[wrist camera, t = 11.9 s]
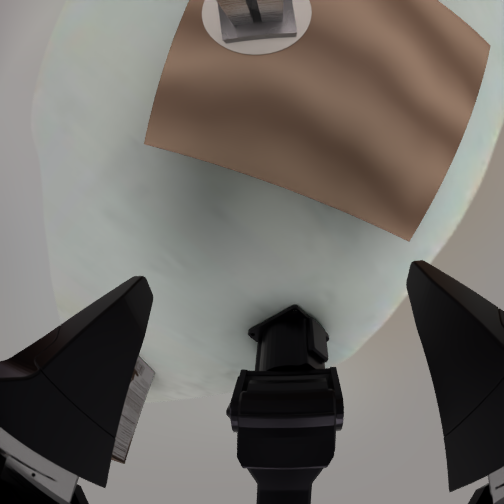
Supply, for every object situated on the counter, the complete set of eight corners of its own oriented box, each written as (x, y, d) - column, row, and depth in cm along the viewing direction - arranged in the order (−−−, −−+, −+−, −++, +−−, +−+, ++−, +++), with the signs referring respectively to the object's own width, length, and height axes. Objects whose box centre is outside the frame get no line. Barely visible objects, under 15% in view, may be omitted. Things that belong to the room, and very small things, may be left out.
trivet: (252, 75, 15) (252, 74, 14) (182, 15, 12) (180, 13, 12) (333, 18, 12) (334, 16, 11) (259, -41, 9) (259, -43, 9)
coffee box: (117, 373, 39) (85, 450, 25) (94, 349, 36) (53, 430, 22) (156, 373, 36) (125, 465, 23) (131, 346, 33) (88, 445, 20)
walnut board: (402, 233, 21) (409, 241, 20) (152, 140, 19) (143, 144, 18) (480, 46, 10) (490, 45, 9) (234, -67, 8) (231, -75, 7)
